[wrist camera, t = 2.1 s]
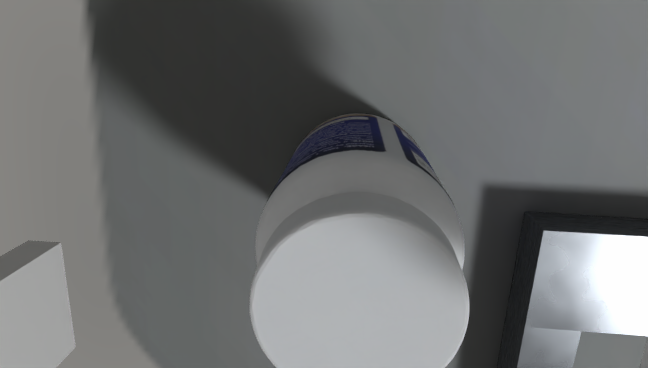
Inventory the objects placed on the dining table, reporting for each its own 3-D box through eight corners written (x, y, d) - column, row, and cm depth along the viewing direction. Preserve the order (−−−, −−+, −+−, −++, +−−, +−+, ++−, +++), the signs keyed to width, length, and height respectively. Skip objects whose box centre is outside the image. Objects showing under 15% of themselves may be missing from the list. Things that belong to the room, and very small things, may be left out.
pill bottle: (276, 221, 20) (198, 384, 10) (309, 94, 18) (253, 147, 8) (402, 257, 20) (441, 452, 10) (447, 133, 18) (546, 231, 8)
